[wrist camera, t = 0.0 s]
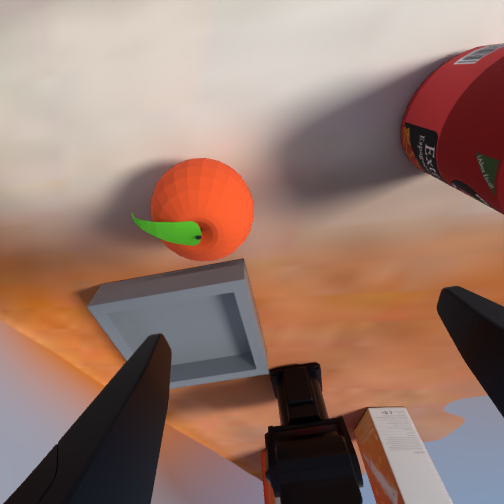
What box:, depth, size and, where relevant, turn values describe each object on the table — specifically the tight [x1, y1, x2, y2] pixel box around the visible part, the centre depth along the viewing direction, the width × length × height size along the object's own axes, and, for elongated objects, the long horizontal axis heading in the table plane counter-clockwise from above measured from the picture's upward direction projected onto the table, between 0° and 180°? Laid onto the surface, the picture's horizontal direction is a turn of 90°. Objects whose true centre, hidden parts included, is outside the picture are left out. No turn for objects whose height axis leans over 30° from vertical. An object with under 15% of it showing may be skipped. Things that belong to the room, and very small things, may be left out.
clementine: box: [131, 158, 254, 261], centre depth 19 cm, size 8×7×7 cm
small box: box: [354, 407, 453, 504], centre depth 39 cm, size 8×6×13 cm
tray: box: [87, 259, 269, 389], centre depth 28 cm, size 14×14×3 cm
